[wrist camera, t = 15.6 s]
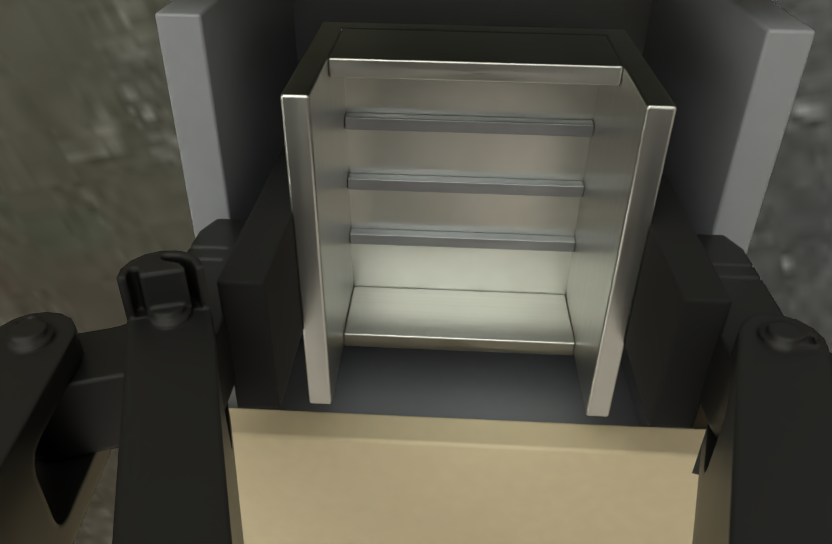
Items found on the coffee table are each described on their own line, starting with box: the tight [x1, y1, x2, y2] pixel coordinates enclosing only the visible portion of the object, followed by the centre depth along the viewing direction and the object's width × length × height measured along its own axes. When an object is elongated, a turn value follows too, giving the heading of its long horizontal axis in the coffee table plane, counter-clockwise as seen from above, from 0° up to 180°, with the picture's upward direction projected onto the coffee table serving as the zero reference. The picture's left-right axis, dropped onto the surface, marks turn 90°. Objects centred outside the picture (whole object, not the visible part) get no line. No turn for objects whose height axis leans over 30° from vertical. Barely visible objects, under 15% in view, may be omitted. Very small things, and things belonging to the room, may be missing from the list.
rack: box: [280, 22, 677, 417], centre depth 16 cm, size 6×7×4 cm
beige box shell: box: [229, 403, 708, 544], centre depth 24 cm, size 15×14×11 cm
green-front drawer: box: [155, 0, 815, 429], centre depth 17 cm, size 18×12×9 cm
